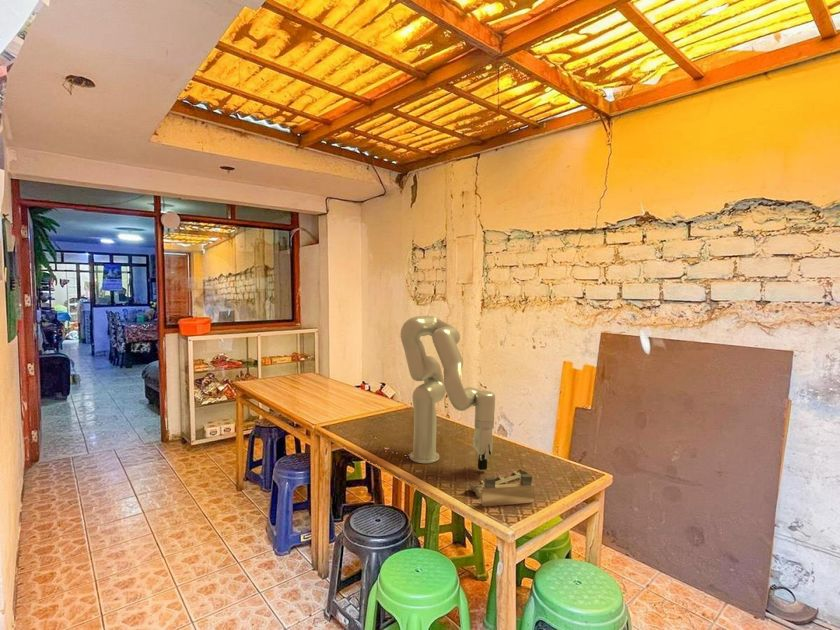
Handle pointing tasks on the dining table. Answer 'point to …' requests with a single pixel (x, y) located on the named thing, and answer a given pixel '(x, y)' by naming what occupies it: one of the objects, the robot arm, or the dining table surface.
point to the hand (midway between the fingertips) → (482, 468)
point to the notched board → (507, 492)
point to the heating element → (498, 481)
